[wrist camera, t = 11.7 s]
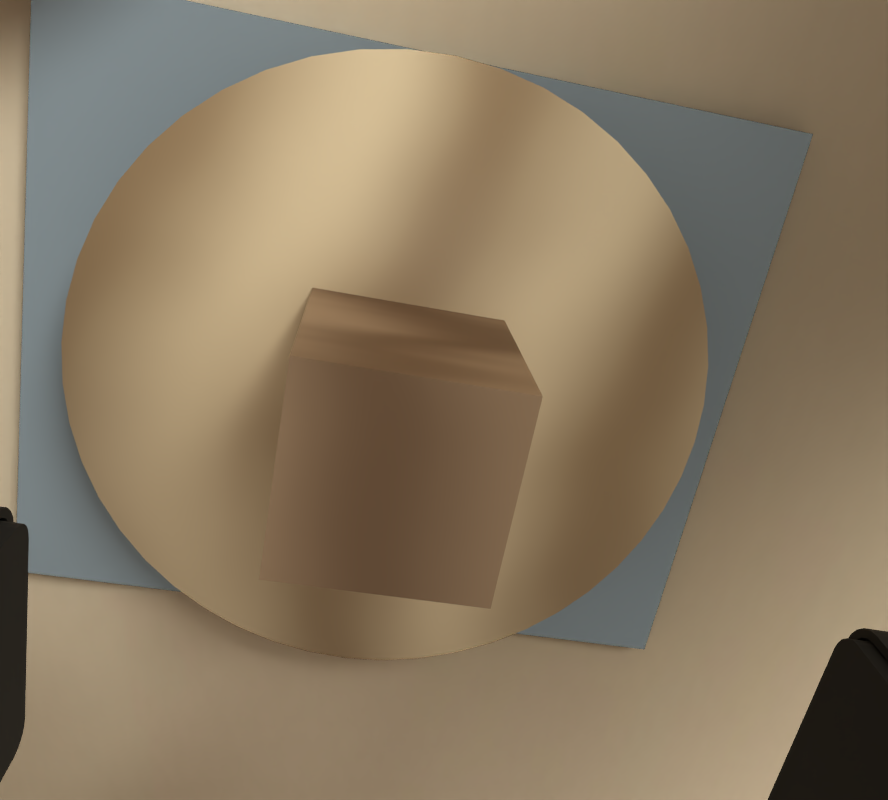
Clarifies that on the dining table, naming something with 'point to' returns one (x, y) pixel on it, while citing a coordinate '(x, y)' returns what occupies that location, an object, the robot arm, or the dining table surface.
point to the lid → (384, 354)
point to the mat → (274, 44)
